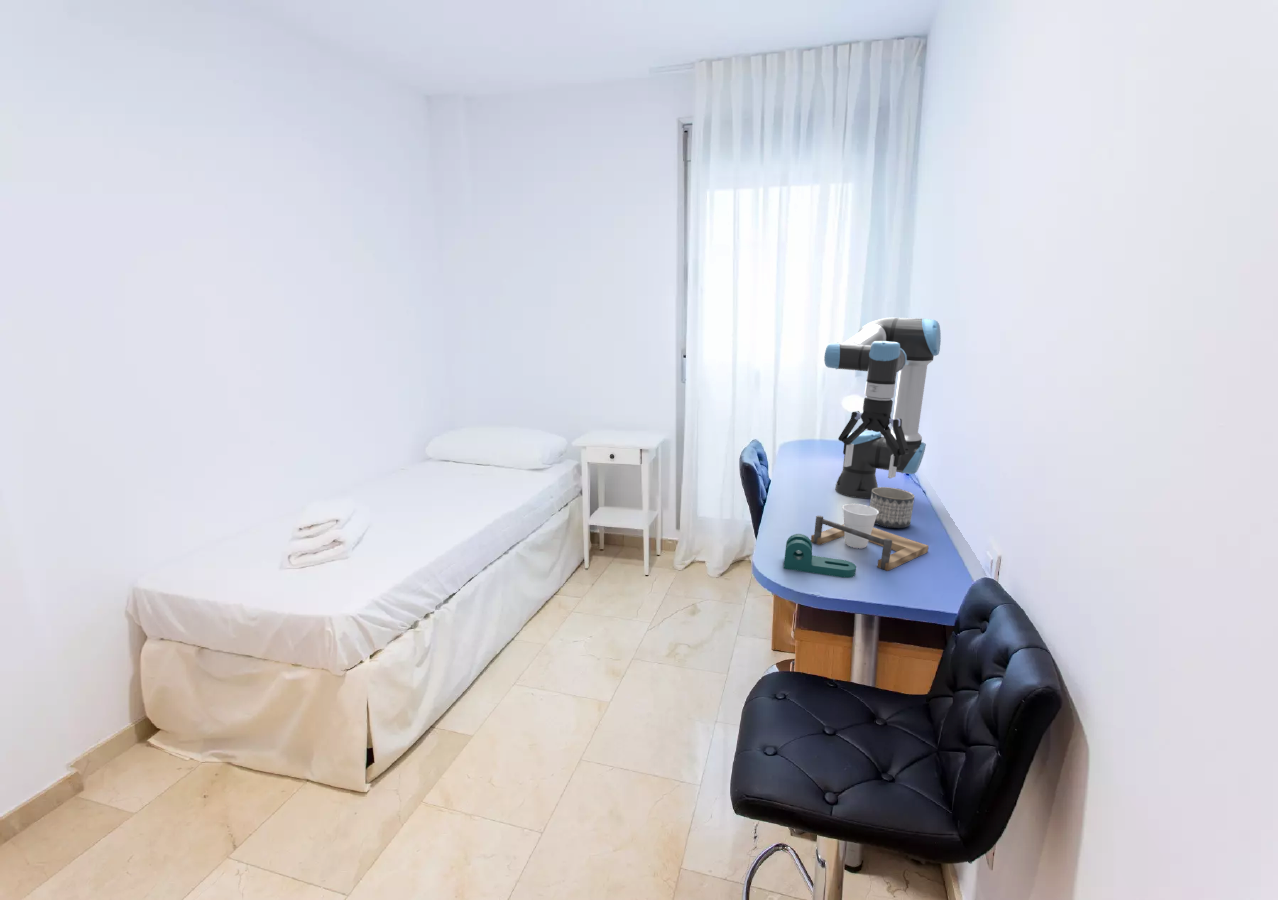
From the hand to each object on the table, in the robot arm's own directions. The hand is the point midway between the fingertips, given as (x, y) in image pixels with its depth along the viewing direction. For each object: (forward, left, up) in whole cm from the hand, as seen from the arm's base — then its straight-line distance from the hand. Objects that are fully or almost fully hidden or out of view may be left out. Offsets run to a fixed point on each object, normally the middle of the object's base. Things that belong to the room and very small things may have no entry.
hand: (868, 471), depth 172 cm
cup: (+3, 0, -22) cm, 22 cm away
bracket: (+26, +4, -22) cm, 34 cm away
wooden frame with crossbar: (+1, +3, -22) cm, 22 cm away
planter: (-23, -4, -22) cm, 32 cm away
